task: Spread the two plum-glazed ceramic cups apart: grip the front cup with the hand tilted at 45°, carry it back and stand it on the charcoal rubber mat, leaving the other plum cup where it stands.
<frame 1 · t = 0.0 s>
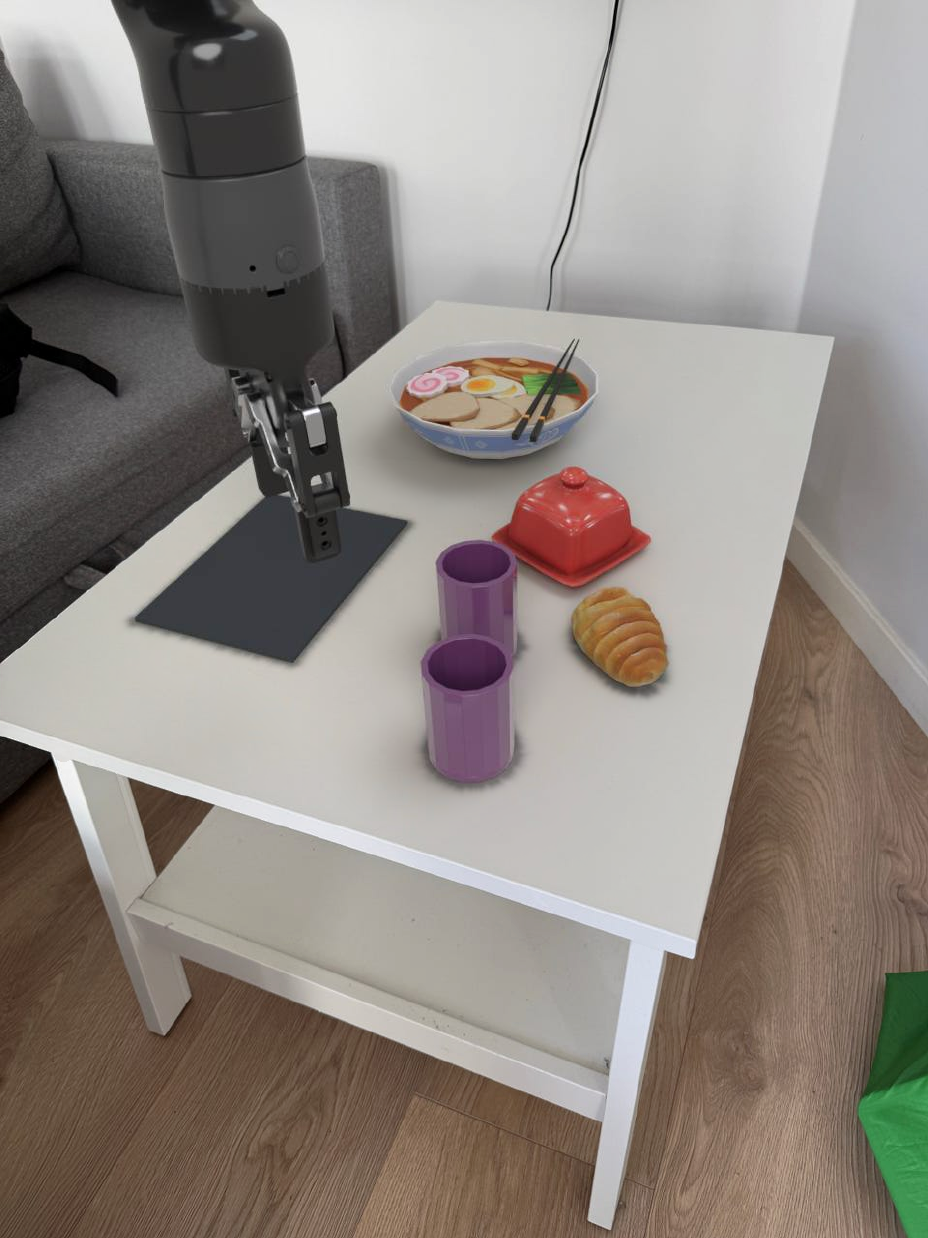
hand: (299, 522, 57), 19 cm above the table, tool pointing down, fingers open, 8 cm apart
mat: (279, 569, 85), on the table
ramen bowl: (494, 444, 103), on the table
pastry: (621, 649, 75), on the table
plum cup side: (479, 646, 76), on the table
butter dish: (570, 551, 86), on the table
plum cup front: (471, 750, 67), on the table
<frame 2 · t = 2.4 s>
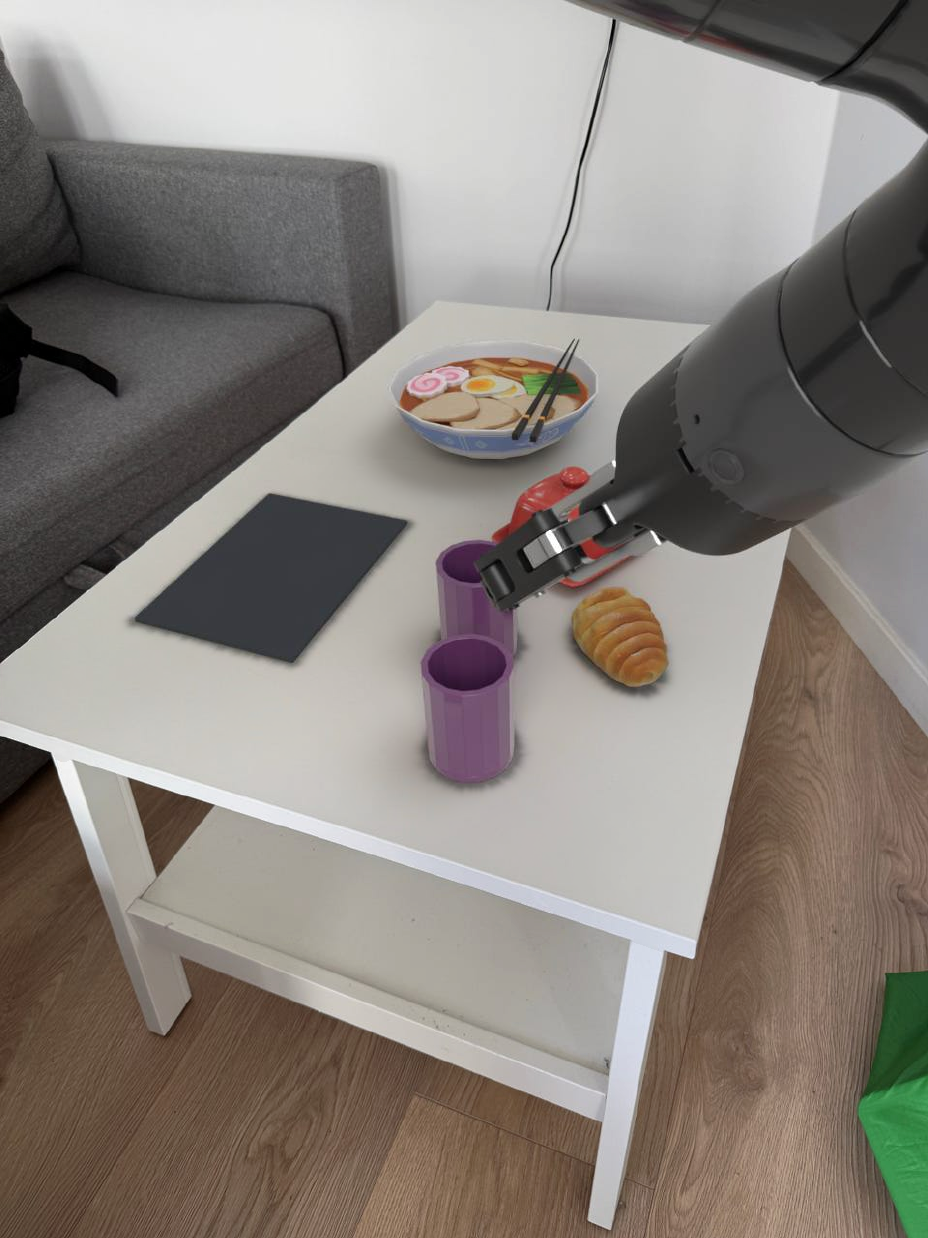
hand: (562, 557, 46), 23 cm above the table, tool tilted 40°, fingers open, 8 cm apart
nothing on the table moved.
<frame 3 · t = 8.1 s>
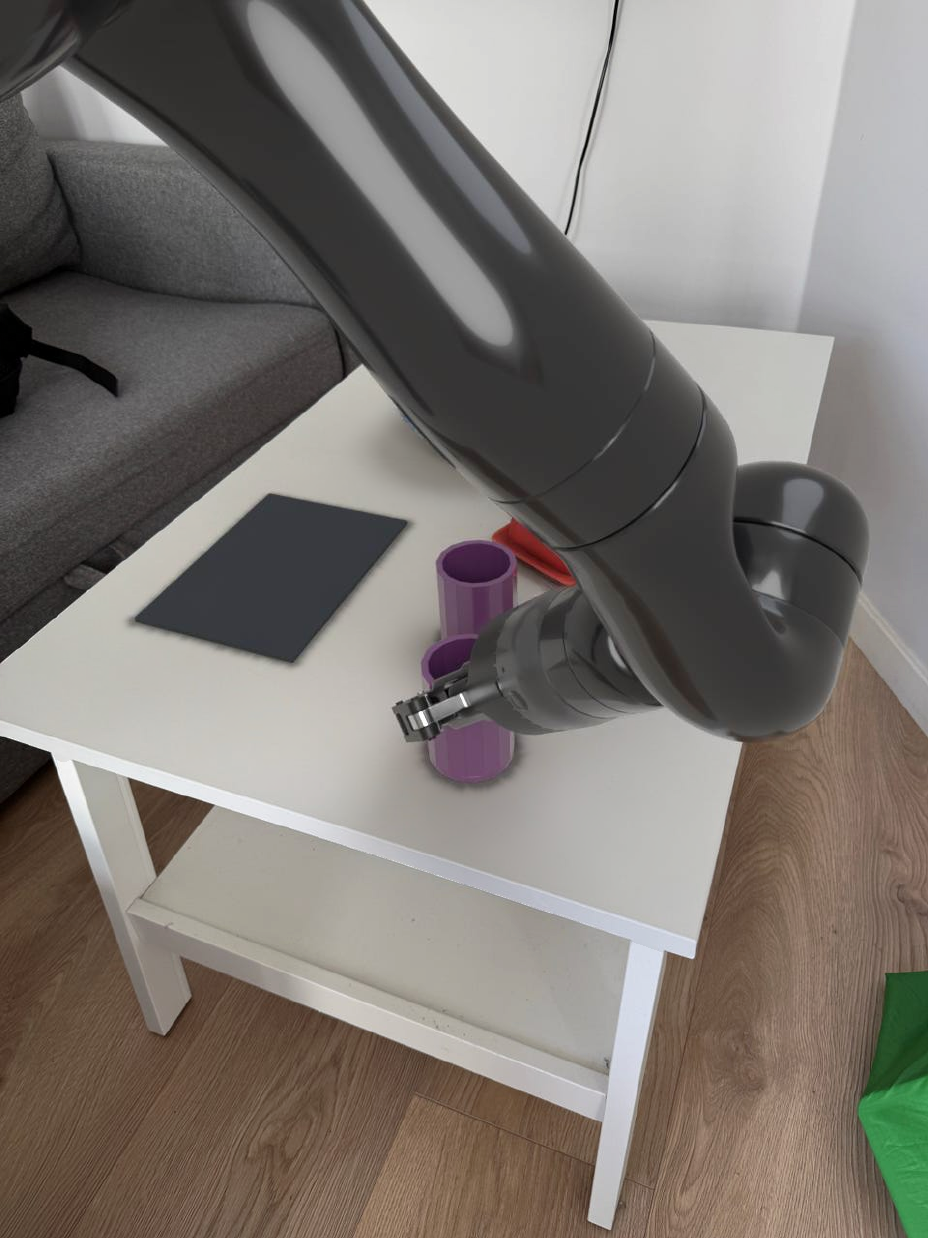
hand: (456, 694, 65), 4 cm above the table, tool tilted 45°, fingers closed on plum cup front, 6 cm apart
plum cup front: (471, 750, 67), on the table, touching gripper
everything else where it was.
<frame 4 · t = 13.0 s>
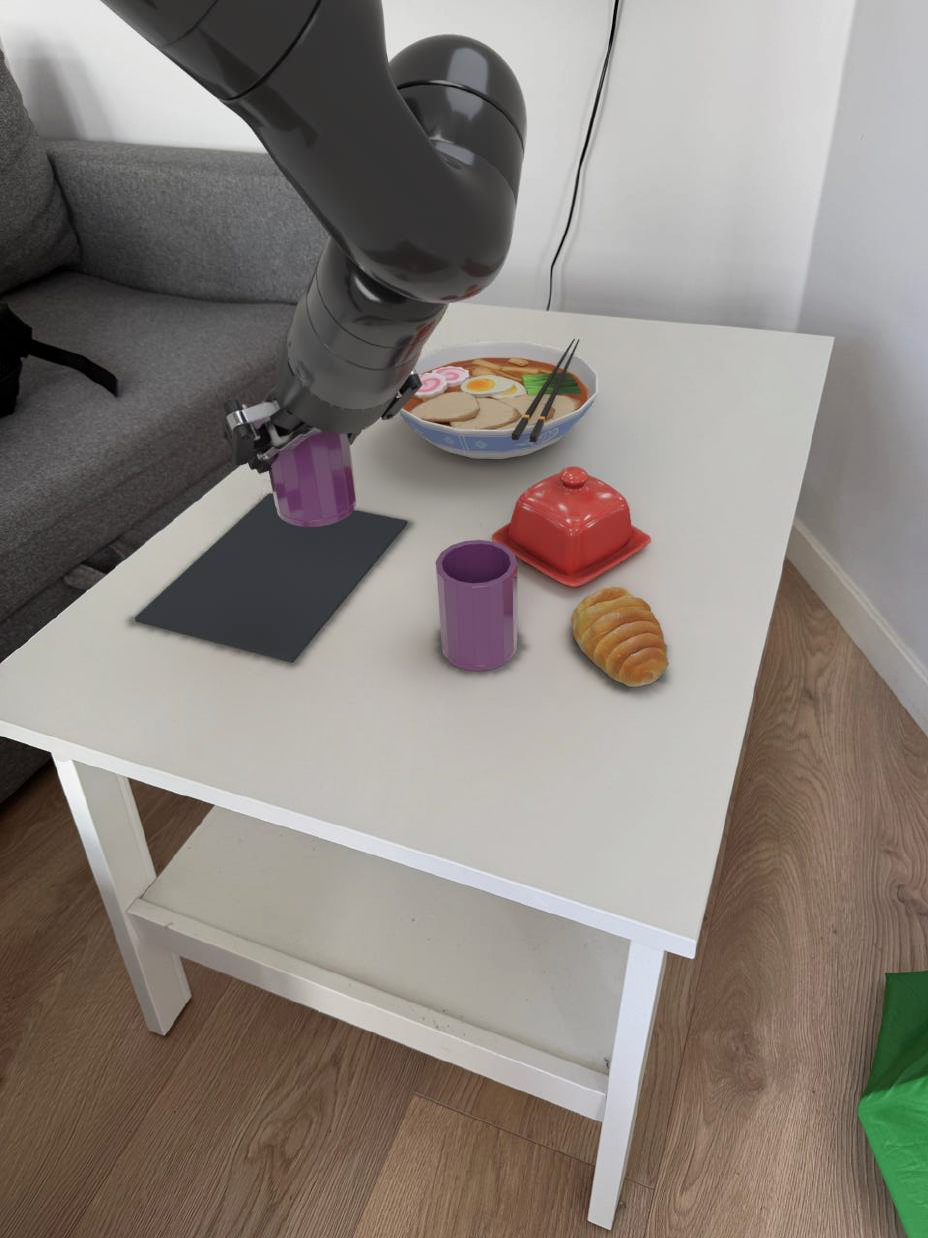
hand: (299, 447, 70), 16 cm above the table, tool tilted 45°, fingers closed on plum cup front, 6 cm apart
plum cup front: (317, 505, 71), point 12 cm above the table, touching gripper
everything else where it was.
when the fingers open (5 cm above the table, at t = 18.1 s): plum cup front stays where it is, resting on mat.
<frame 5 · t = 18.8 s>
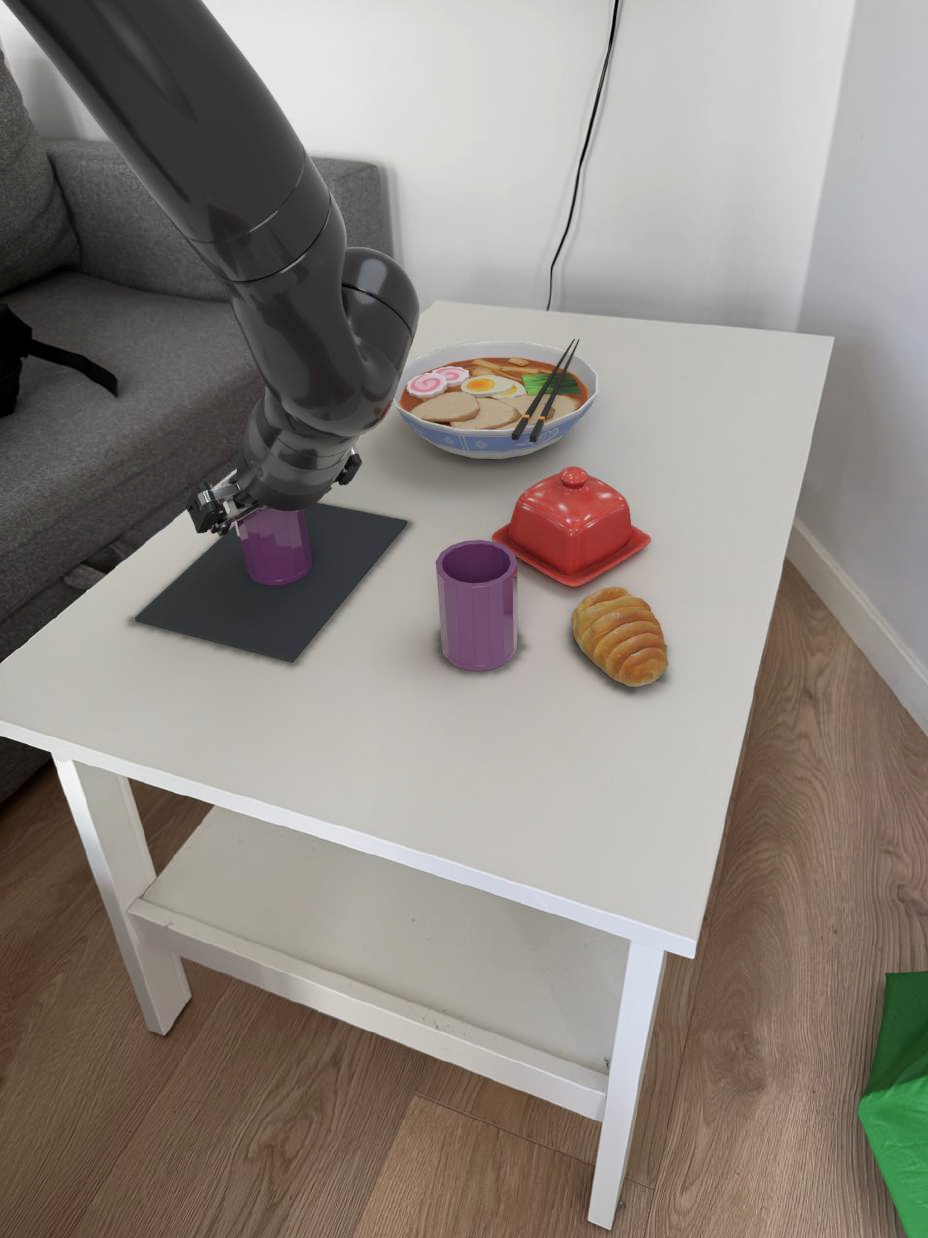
hand: (262, 510, 83), 6 cm above the table, tool tilted 45°, fingers open, 8 cm apart
plum cup front: (280, 565, 85), resting on mat
everything else where it was.
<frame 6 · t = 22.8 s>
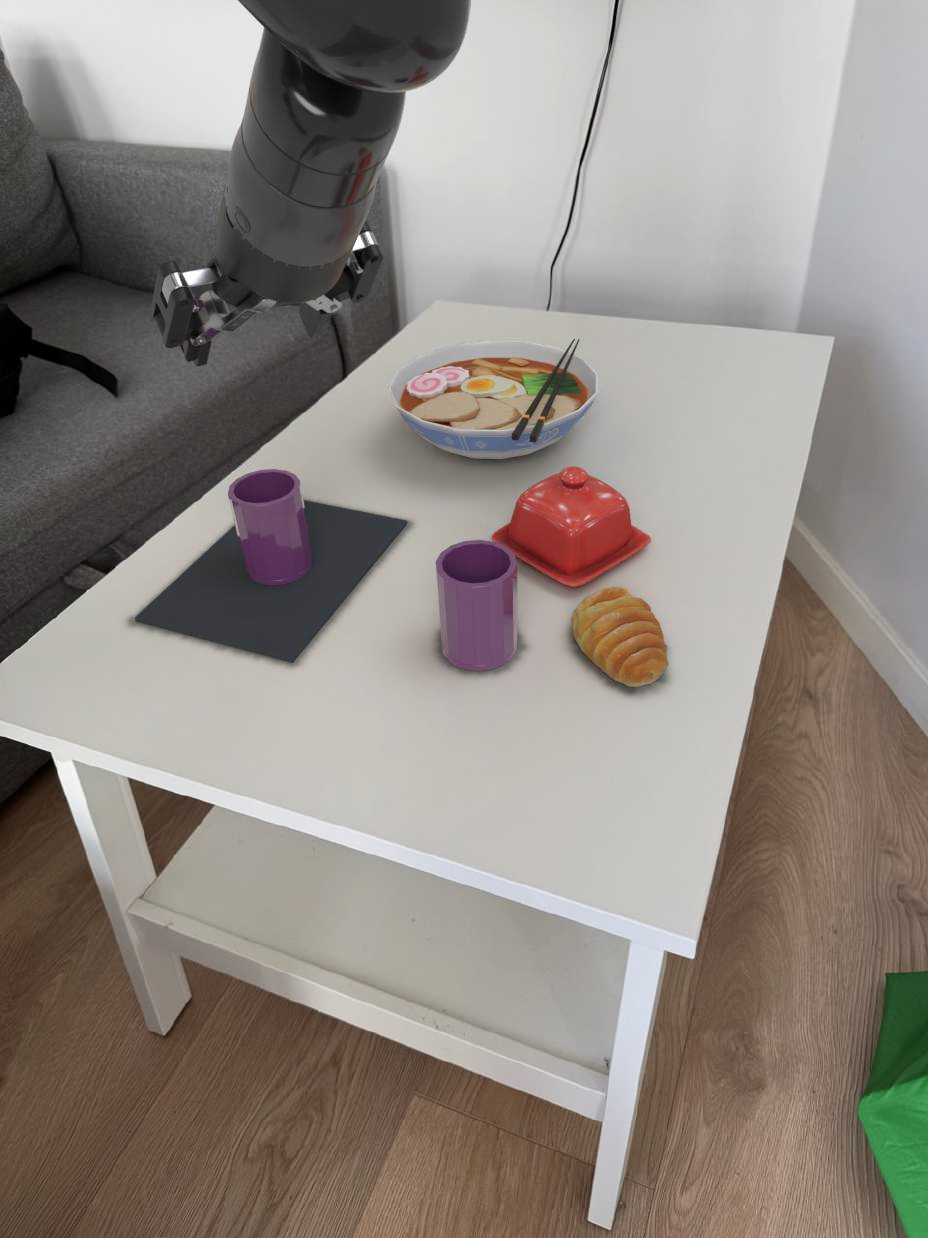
hand: (252, 338, 64), 25 cm above the table, tool tilted 45°, fingers open, 8 cm apart
nothing on the table moved.
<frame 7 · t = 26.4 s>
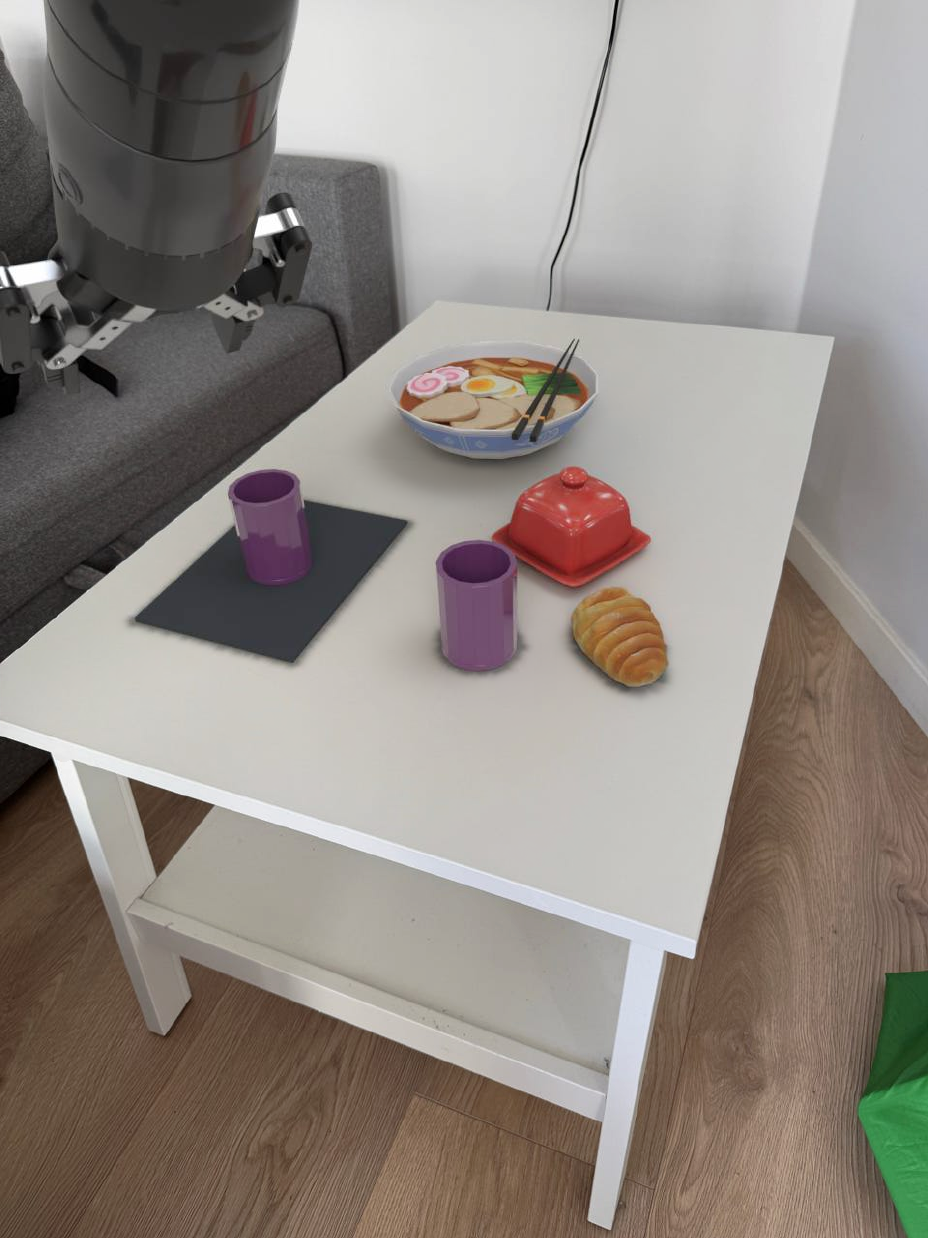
hand: (147, 356, 48), 31 cm above the table, tool tilted 45°, fingers open, 8 cm apart
nothing on the table moved.
at the end: plum cup front inside the target area on the mat (0.1 cm from its centre), point 0.4 cm above the mat's base; plum cup front tilted 0°; plum cup side moved 0.0 cm from its start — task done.
